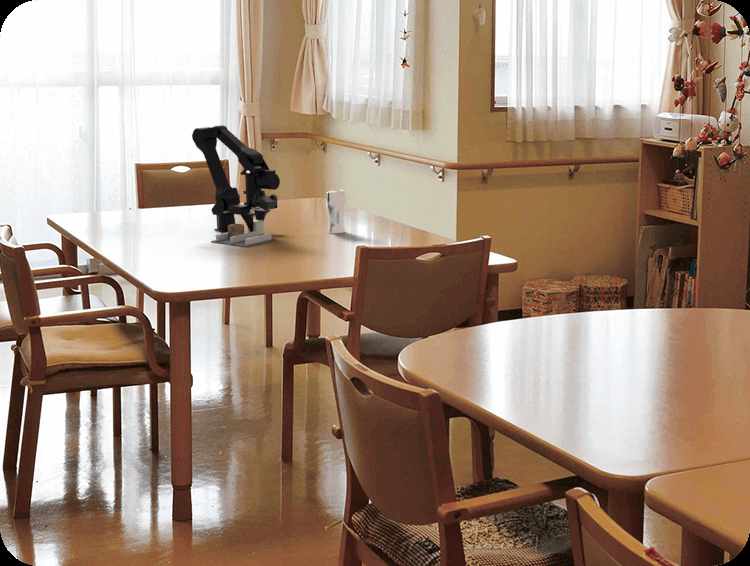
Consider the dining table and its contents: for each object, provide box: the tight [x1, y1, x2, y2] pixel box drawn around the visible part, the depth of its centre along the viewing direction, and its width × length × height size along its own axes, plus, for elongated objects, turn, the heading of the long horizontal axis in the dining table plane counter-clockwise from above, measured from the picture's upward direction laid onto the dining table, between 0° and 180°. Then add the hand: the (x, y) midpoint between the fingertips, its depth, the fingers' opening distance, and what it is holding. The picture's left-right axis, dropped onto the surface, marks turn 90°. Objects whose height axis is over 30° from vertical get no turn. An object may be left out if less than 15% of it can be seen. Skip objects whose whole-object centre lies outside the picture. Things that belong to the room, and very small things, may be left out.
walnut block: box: [228, 223, 245, 239], centre depth 333 cm, size 4×4×5 cm
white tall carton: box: [325, 189, 346, 235], centre depth 344 cm, size 7×7×15 cm
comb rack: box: [210, 232, 277, 248], centre depth 332 cm, size 17×15×2 cm
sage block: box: [247, 218, 265, 236], centre depth 344 cm, size 4×4×5 cm
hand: (255, 230), depth 344 cm, fingers closed on sage block, 4 cm apart
